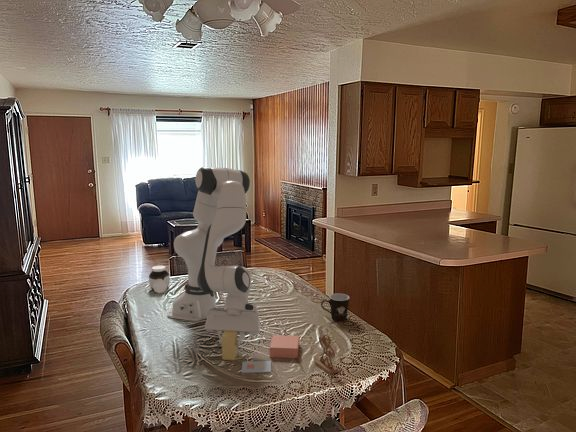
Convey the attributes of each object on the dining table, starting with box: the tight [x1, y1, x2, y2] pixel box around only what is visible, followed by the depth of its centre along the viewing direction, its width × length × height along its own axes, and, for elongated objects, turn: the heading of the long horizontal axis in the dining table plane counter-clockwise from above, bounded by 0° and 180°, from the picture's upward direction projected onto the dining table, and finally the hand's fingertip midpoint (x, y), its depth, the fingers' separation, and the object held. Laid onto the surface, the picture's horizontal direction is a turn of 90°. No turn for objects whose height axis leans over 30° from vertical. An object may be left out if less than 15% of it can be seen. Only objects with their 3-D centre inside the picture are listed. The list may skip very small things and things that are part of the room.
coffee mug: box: [320, 293, 350, 323], centre depth 189 cm, size 12×9×10 cm
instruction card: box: [240, 360, 272, 374], centre depth 149 cm, size 10×7×1 cm
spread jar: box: [148, 265, 171, 294], centre depth 225 cm, size 12×11×12 cm
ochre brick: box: [221, 331, 239, 361], centre depth 156 cm, size 4×4×9 cm
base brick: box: [269, 334, 300, 359], centre depth 161 cm, size 10×10×4 cm
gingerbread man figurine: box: [314, 334, 340, 376], centre depth 148 cm, size 9×4×12 cm, turn 33°
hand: (229, 344), depth 155 cm, fingers closed on ochre brick, 4 cm apart
